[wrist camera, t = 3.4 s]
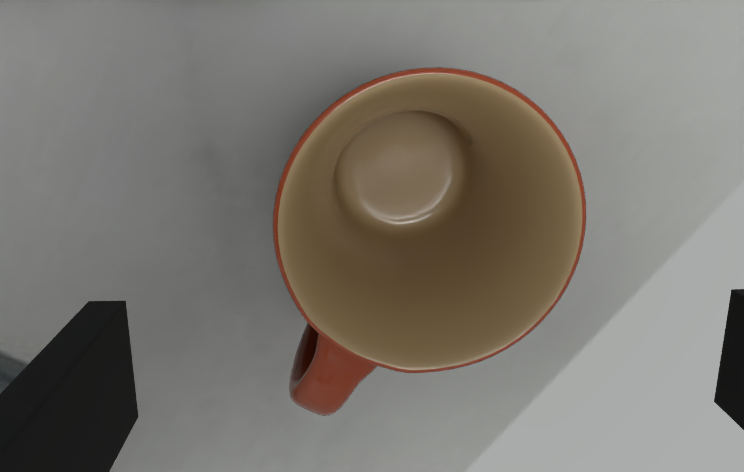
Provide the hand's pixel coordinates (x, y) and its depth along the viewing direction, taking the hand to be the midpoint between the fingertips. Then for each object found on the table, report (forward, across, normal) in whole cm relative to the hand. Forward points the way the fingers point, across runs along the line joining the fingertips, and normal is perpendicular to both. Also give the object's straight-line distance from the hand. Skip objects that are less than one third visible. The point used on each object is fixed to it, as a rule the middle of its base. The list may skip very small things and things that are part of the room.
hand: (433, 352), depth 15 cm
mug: (+15, 0, 0) cm, 15 cm away
